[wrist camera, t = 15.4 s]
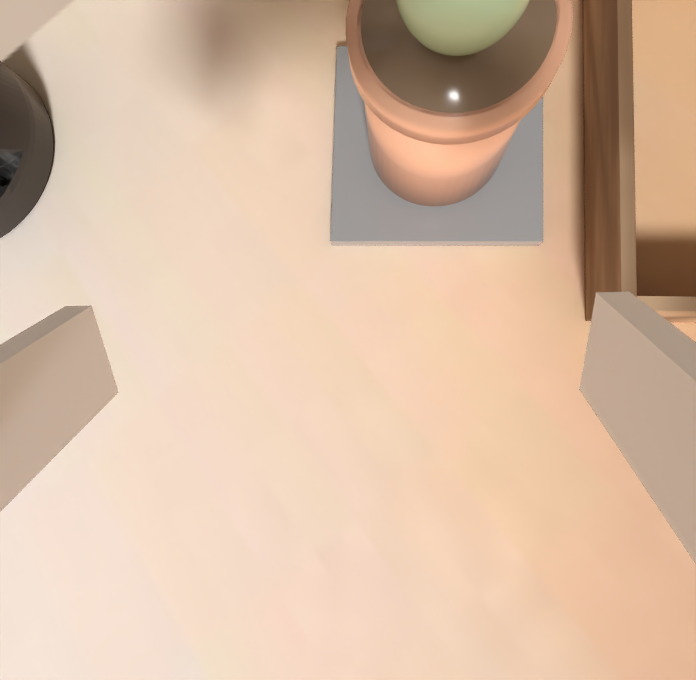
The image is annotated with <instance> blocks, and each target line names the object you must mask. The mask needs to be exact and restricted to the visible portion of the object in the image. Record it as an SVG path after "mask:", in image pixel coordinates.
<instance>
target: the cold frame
mask: <svg viewBox="0 0 696 680" xmlns="http://www.w3.org/2000/svg"><path fill="white" fill-rule="evenodd" d="M583 51H584V165H585V280H586V321H591V319H592V313H593V307H594V302H595V296H596V292H630V293H632V294H633V295H634V296H636V297H637V298H638V299H640V300H641V301H642V302H644V303H645V304H646V305H648V306H649V307H650V308H651V309H653V310H654V311H655V312H657V313H658V314H659V315H661V316H662V317H663V318H665V319H666V320H667V321H668V322H684V323H696V297H684V296H637V279H636V220H635V162H634V103H633V45H632V0H583Z"/></svg>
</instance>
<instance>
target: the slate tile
mask: <svg viewBox="0 0 696 680" xmlns="http://www.w3.org/2000/svg"><path fill="white" fill-rule="evenodd" d="M330 241H331V243H332V245H434V246H539V245H540V244H541V243H542V242H543V97H542V98H541V99H540V101H539V102H538V103H537V104H536V106H535V107H534V108H533V109H532V110H531V111H530V112H529V113H528V114H527V115H526V116H525V117H524V118H522V119H521V120H520V122H519V124H518V127H517V129H516V131H515V133H514V135H513V137H512V139H511V141H510V143H509V145H508V147H507V149H506V151H505V153H504V155H503V157H502V159H501V161H500V164H499V166H498V168H497V170H496V171H495V173H494V175H493V176H492V178H491V179H490V180H489V181H488V183H487V184H486V185H485V186H484V187H483V188H482V189H481V190H479V191H478V192H477V193H475V194H474V195H472V196H471V197H469V198H467V199H465V200H463V201H460V202H458V203H454V204H451V205H446V206H422V205H418V204H414V203H411V202H409V201H406V200H404V199H402V198H400V197H399V196H397V195H396V194H394V193H393V192H392V191H390V190H389V189H388V188H387V187H386V186H385V185H384V183H383V182H382V181H381V180H380V178H379V176H378V175H377V173H376V171H375V169H374V166H373V164H372V160H371V156H370V148H369V139H368V130H367V121H366V112H365V103H364V100H363V99H362V97H361V95H360V94H359V92H358V90H357V87H356V85H355V82H354V80H353V76H352V72H351V68H350V62H349V55H348V48H347V46H337V60H336V90H335V120H334V150H333V180H332V210H331V240H330Z"/></svg>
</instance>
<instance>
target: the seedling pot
mask: <svg viewBox="0 0 696 680" xmlns="http://www.w3.org/2000/svg"><path fill="white" fill-rule="evenodd" d="M571 30H572V3H571V0H350V2H349V6H348V11H347V17H346V40H347V48H348V55H349V62H350V68H351V72H352V76H353V80H354V82H355V85H356V87H357V90H358V92H359V94H360V95H361V97H362V99H363V100H364V103H365V112H366V121H367V130H368V139H369V148H370V156H371V160H372V164H373V166H374V169H375V171H376V173H377V175H378V176H379V178H380V180H381V181H382V182H383V183H384V185H385V186H386V187H387V188H388V189H389V190H390V191H392V192H393V193H394V194H396V195H397V196H399V197H400V198H402V199H404V200H406V201H409V202H411V203H414V204H418V205H422V206H446V205H451V204H454V203H458V202H460V201H463V200H465V199H467V198H469V197H471V196H472V195H474V194H475V193H477V192H478V191H479V190H481V189H482V188H483V187H484V186H485V185H486V184H487V183H488V181H489V180H490V179H491V178H492V176H493V175H494V173H495V171H496V170H497V168H498V166H499V164H500V161H501V159H502V157H503V155H504V153H505V151H506V149H507V147H508V145H509V143H510V141H511V139H512V137H513V135H514V133H515V131H516V129H517V127H518V124H519V122H520V120H521V119H522V118H524V117H525V116H526V115H527V114H528V113H529V112H530V111H531V110H532V109H533V108H534V107H535V106H536V104H537V103H538V102H539V101H540V99H541V98H542V97H543V95H544V94H545V92H546V90H547V89H548V87H549V85H550V83H551V82H552V80H553V78H554V76H555V74H556V72H557V70H558V68H559V66H560V65H561V62H562V60H563V58H564V55H565V53H566V51H567V48H568V44H569V40H570V37H571Z"/></svg>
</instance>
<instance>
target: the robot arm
mask: <svg viewBox="0 0 696 680" xmlns="http://www.w3.org/2000/svg"><path fill="white" fill-rule="evenodd" d="M52 158H53V134H52V127H51V123H50V119H49V116H48V113H47V111H46V108H45V106H44V104H43V102H42V101H41V99H40V97H39V96H38V94H37V93H36V92H35V91H34V89H33V88H32V87H31V86H30V85H29V84H28V83H27V82H26V81H25V80H24V79H22V78H21V77H20V76H19V75H17V74H16V73H15V72H14V71H12V70H11V69H10V68H9V67H7V66H6V65H5V64H4V63H2V62H1V61H0V238H1V237H3V236H4V235H6V234H7V233H9V232H10V231H11V230H12V229H14V228H15V227H16V226H17V225H18V224H19V223H20V222H21V221H22V220H23V219H24V218H25V217H26V216H27V215H28V213H29V212H30V211H31V210H32V208H33V207H34V205H35V204H36V202H37V201H38V199H39V197H40V195H41V194H42V192H43V189H44V187H45V185H46V182H47V180H48V176H49V173H50V169H51V164H52ZM579 390H580V391H581V393H582V394H583V396H584V397H585V399H586V400H587V402H588V403H589V405H590V406H591V408H592V409H593V411H594V412H595V414H596V415H597V417H598V418H599V420H600V421H601V423H602V424H603V426H604V427H605V429H606V430H607V432H608V433H609V435H610V436H611V438H612V439H613V441H614V442H615V444H616V445H617V447H618V448H619V450H620V451H621V453H622V454H623V456H624V457H625V459H626V460H627V462H628V463H629V465H630V466H631V468H632V469H633V471H634V472H635V474H636V475H637V477H638V478H639V480H640V481H641V483H642V484H643V486H644V487H645V489H646V490H647V492H648V493H649V495H650V496H651V498H652V499H653V501H654V502H655V504H656V505H657V507H658V508H659V510H660V511H661V513H662V514H663V516H664V517H665V519H666V520H667V522H668V523H669V525H670V526H671V528H672V529H673V531H674V532H675V534H676V535H677V537H678V538H679V540H680V541H681V543H682V544H683V546H684V547H685V549H686V550H687V552H688V553H689V555H690V556H691V558H692V559H693V561H694V562H695V564H696V342H695V341H693V340H692V339H691V338H689V337H688V336H687V335H685V334H684V333H683V332H682V331H680V330H679V329H678V328H676V327H675V326H674V325H672V324H671V323H670V322H668V321H667V320H666V319H665V318H663V317H662V316H661V315H659V314H658V313H657V312H655V311H654V310H653V309H651V308H650V307H649V306H648V305H646V304H645V303H644V302H642V301H641V300H640V299H638V298H637V297H636V296H634V295H633V294H632V293H630V292H596V296H595V302H594V307H593V313H592V319H591V325H590V331H589V337H588V342H587V348H586V354H585V360H584V366H583V372H582V377H581V383H580V389H579ZM117 393H118V389H117V386H116V383H115V379H114V376H113V373H112V370H111V367H110V363H109V360H108V357H107V354H106V351H105V347H104V344H103V341H102V338H101V335H100V331H99V328H98V325H97V322H96V319H95V315H94V312H93V309H92V306H65V307H64V308H62V309H60V310H58V311H57V312H55V313H53V314H52V315H50V316H48V317H47V318H45V319H43V320H41V321H40V322H38V323H36V324H35V325H33V326H31V327H30V328H28V329H26V330H25V331H23V332H21V333H19V334H18V335H16V336H14V337H13V338H11V339H9V340H8V341H6V342H4V343H2V344H1V345H0V512H1V511H2V510H3V509H4V508H5V507H6V506H7V505H8V504H9V503H10V501H11V500H12V499H13V498H14V497H15V496H16V495H17V494H18V493H19V492H20V491H21V490H22V489H23V488H24V487H25V486H26V485H27V484H28V483H29V482H30V481H31V480H32V479H33V478H34V477H35V476H36V475H37V474H38V473H39V472H40V471H41V470H42V469H43V468H44V467H45V466H46V465H47V464H48V463H49V462H50V461H51V460H52V459H53V458H54V457H55V456H56V455H57V454H58V453H59V452H60V451H61V450H62V449H63V448H64V447H65V446H66V445H67V444H68V443H69V442H70V441H71V440H72V439H73V438H74V437H75V436H76V435H77V434H78V433H79V432H80V431H81V430H82V429H83V428H84V427H85V426H86V425H87V424H88V422H89V421H90V420H91V419H92V418H93V417H94V416H95V415H96V414H97V413H98V412H99V411H100V410H101V409H102V408H103V407H104V406H105V405H106V404H107V403H108V402H109V401H110V400H111V399H112V398H113V397H114V396H115V395H116V394H117Z"/></svg>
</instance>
